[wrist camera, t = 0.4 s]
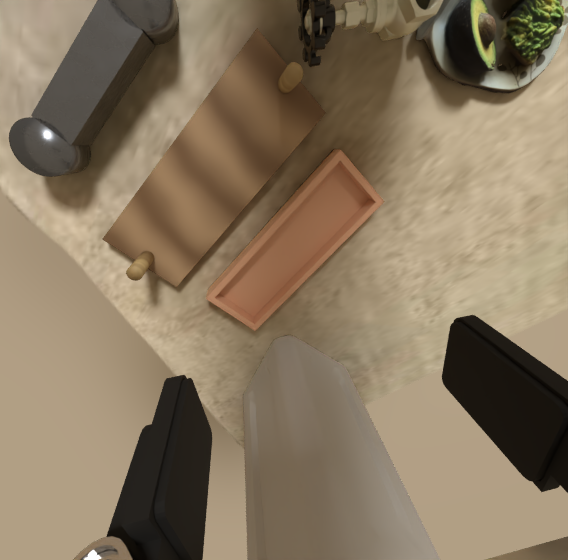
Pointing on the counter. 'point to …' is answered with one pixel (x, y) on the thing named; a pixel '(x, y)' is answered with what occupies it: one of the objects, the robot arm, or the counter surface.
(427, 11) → the valve
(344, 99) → the counter surface
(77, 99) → the grey long knobbed bar
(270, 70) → the board
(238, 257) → the slot holder
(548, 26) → the salad plate
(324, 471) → the paper bag
